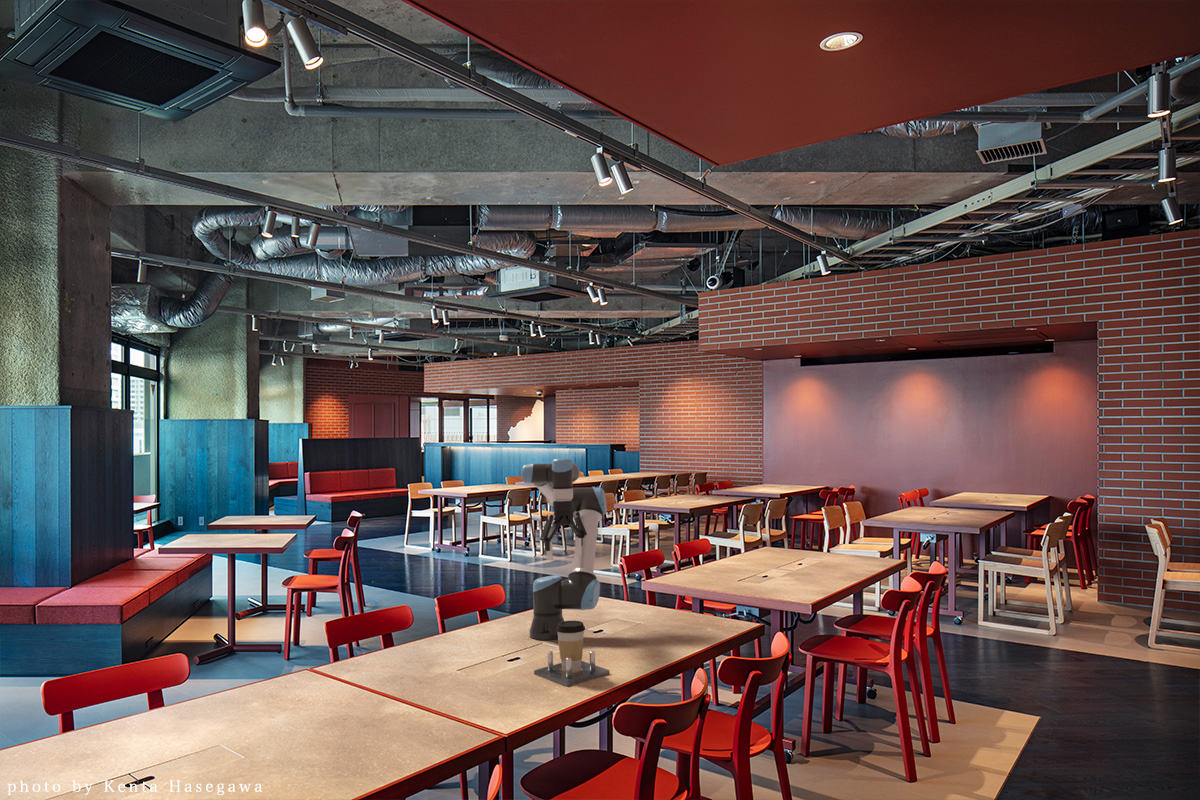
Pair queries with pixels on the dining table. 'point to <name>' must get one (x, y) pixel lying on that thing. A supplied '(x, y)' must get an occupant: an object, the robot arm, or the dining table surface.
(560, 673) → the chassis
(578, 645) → the coffee cup
